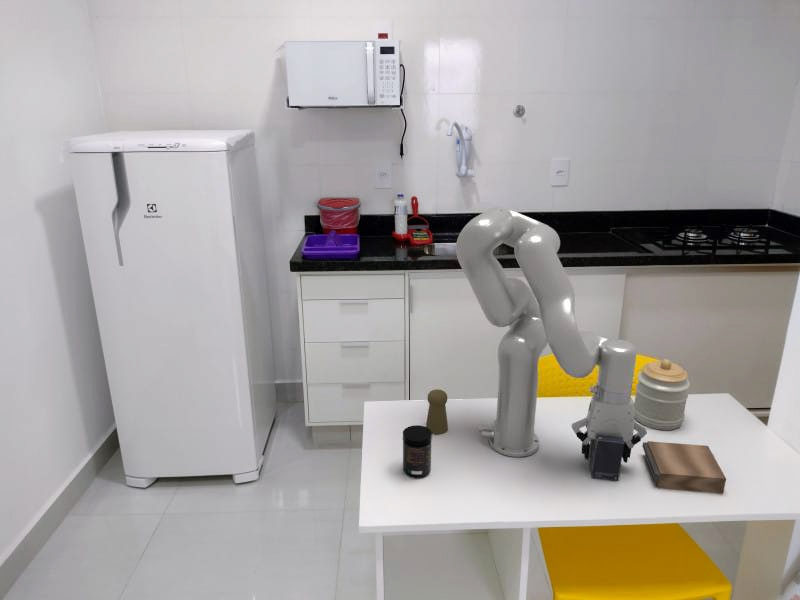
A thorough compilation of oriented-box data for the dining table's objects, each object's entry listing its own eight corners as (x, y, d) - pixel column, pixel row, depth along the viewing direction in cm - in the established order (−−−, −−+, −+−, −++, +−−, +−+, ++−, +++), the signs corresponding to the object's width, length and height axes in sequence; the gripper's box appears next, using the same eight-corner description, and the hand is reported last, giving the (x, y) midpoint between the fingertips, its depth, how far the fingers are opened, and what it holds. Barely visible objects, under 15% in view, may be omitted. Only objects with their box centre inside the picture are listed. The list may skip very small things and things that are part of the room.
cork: (452, 426, 166) (453, 390, 162) (441, 437, 161) (442, 400, 157) (432, 420, 169) (433, 384, 165) (421, 430, 164) (421, 393, 160)
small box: (620, 482, 144) (626, 443, 140) (590, 478, 145) (595, 440, 141) (614, 456, 154) (620, 418, 150) (587, 452, 155) (592, 416, 151)
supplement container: (429, 461, 151) (430, 424, 148) (432, 479, 145) (433, 440, 141) (401, 463, 151) (401, 425, 147) (403, 480, 145) (403, 441, 141)
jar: (678, 409, 175) (688, 351, 168) (687, 434, 163) (698, 373, 157) (629, 403, 177) (637, 347, 171) (634, 427, 166) (643, 368, 159)
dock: (653, 487, 142) (655, 472, 141) (641, 454, 154) (643, 440, 153) (723, 493, 140) (726, 478, 138) (705, 459, 152) (708, 445, 151)
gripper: (576, 398, 140) (569, 464, 146) (657, 403, 138) (646, 470, 144) (572, 382, 147) (565, 446, 153) (649, 387, 145) (639, 451, 151)
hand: (605, 457), depth 148 cm, fingers open, 8 cm apart
